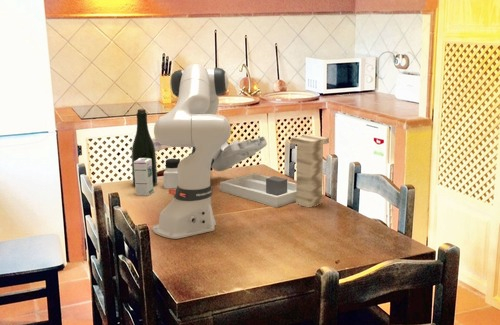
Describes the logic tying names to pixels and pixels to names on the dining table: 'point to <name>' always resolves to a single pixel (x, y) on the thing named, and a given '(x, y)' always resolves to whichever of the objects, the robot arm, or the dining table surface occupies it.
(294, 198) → the tray
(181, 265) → the dining table surface
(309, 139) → the ribbed beige tower
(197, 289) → the dining table surface
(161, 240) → the dining table surface
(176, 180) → the medicine bottle
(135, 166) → the syrup box
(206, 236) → the dining table surface
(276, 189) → the grey mallet
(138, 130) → the wine bottle
